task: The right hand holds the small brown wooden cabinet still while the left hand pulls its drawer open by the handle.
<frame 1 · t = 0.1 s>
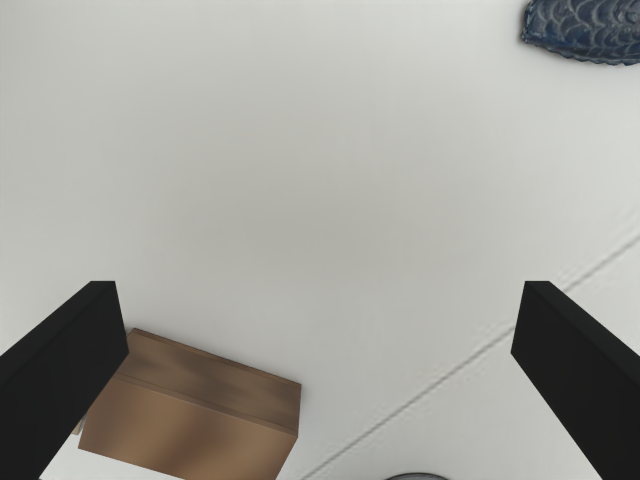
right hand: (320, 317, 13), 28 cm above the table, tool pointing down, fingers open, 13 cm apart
drawer: (152, 399, 44), point 4 cm above the table, slide at 0.6 cm
cabinet: (207, 389, 49), on the table
fish model: (637, 18, 35), on the table
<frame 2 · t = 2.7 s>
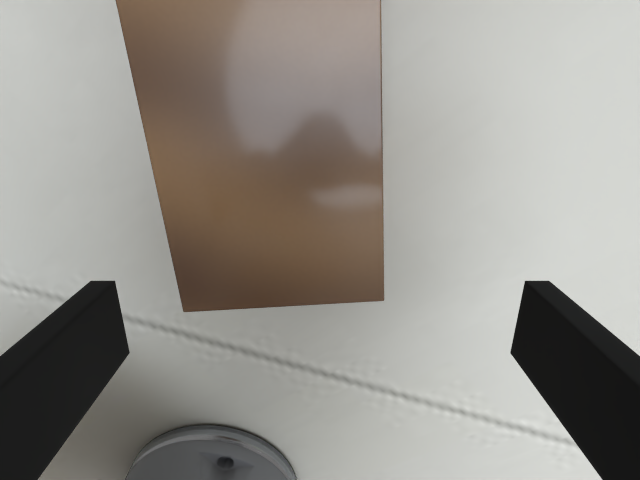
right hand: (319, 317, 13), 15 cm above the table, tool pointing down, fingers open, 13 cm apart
cabinet: (277, 92, 24), on the table
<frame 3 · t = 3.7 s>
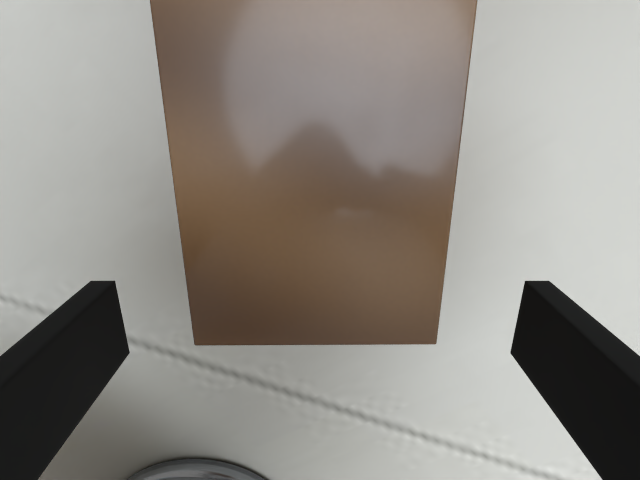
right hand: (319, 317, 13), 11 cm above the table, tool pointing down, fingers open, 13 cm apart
cabinet: (315, 90, 21), on the table
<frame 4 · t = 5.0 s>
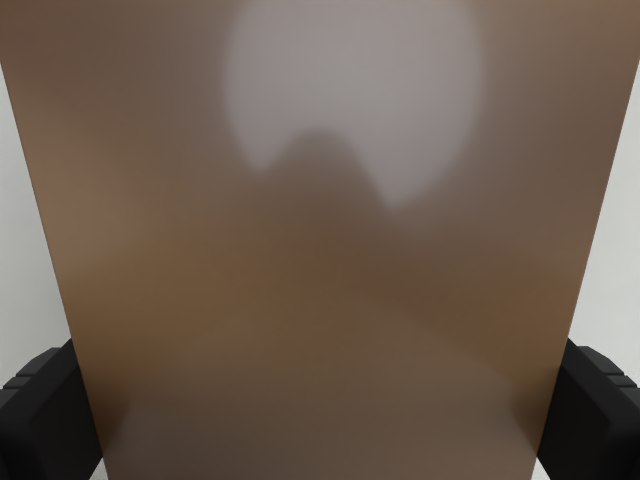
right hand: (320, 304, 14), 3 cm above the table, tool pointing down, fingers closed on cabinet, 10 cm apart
cabinet: (319, 83, 14), on the table, touching right hand
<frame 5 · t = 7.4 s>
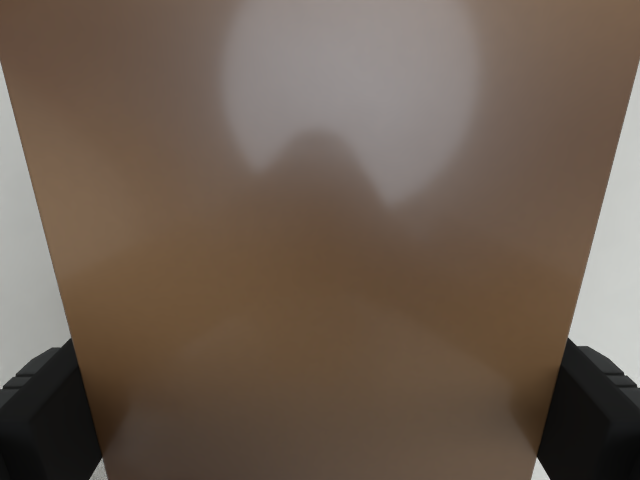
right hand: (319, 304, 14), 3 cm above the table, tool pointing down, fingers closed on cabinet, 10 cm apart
cabinet: (319, 83, 14), on the table, touching right hand
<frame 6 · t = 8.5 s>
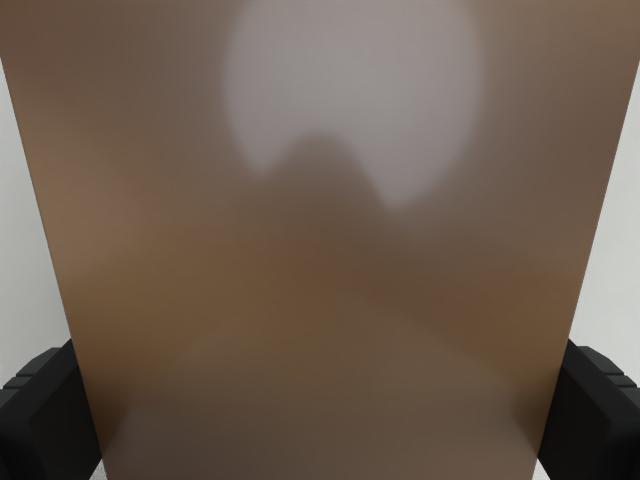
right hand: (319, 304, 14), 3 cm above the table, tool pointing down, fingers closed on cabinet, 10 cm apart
cabinet: (320, 84, 14), on the table, touching right hand
when the right hand's fingers open (3 cm above the table, at t = 10.3 s): cabinet stays where it is, on the table.
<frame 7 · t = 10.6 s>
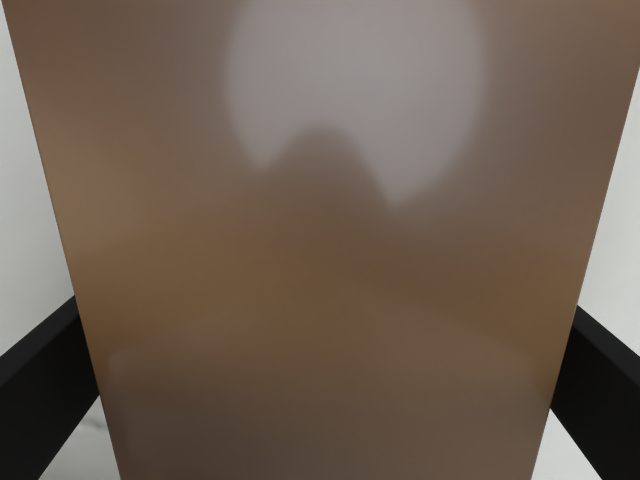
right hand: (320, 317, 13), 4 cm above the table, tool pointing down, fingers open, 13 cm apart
cabinet: (324, 68, 14), on the table
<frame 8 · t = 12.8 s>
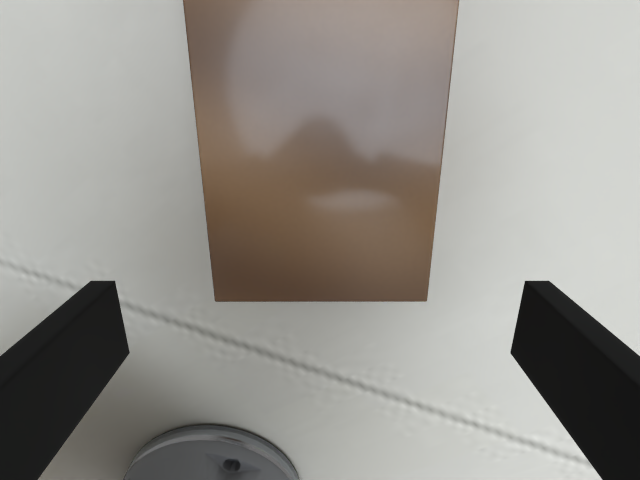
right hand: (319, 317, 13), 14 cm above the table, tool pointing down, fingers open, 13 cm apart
cabinet: (320, 79, 23), on the table
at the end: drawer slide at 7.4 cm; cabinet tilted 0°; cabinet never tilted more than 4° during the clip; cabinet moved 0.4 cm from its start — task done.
